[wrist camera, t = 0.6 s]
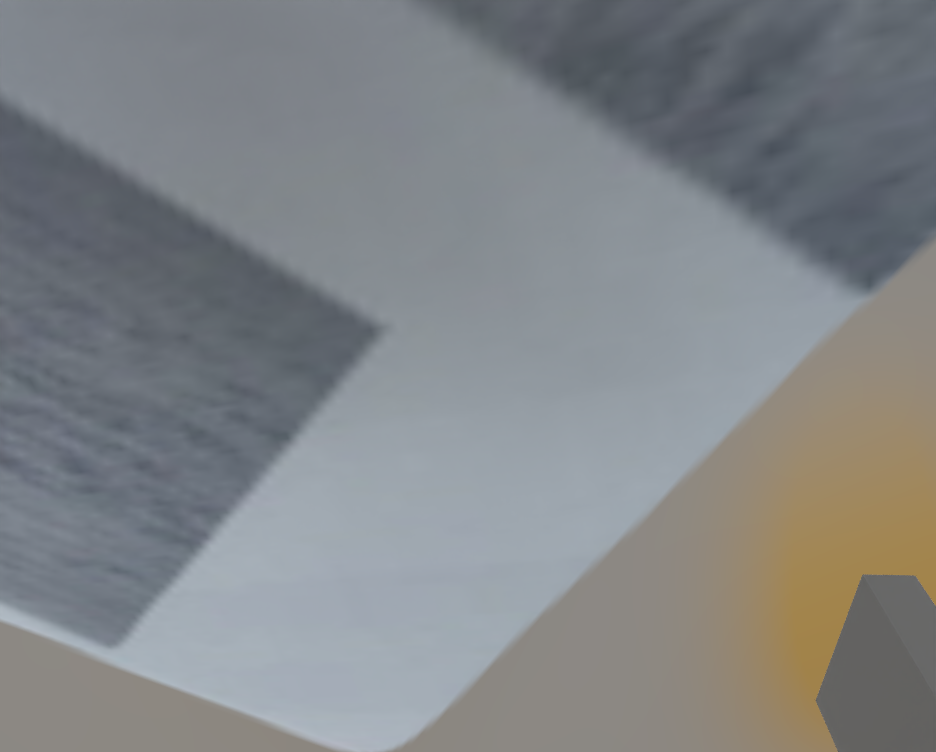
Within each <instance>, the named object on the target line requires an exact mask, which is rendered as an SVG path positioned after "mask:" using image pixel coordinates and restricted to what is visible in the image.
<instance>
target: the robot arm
mask: <svg viewBox="0 0 936 752" xmlns="http://www.w3.org/2000/svg"><path fill="white" fill-rule="evenodd" d="M816 702H817V705H818V707H819V709H820V711H821V714H822V716H823V718H824V720H825V723H826V725H827V727H828V730H829V732H830V734H831V736H832V738H833V741H834V743H835V745H836V748H837V750H838V752H936V606H935V605H934V603H933V602H932V600H931V599H930V597H929V596H928V594H927V593H926V591H925V590H924V588H923V587H922V585H921V584H920V582H919V581H918V579H917V578H916V576H905V575H862V577H861V580H860V583H859V585H858V588H857V591H856V594H855V596H854V599H853V602H852V604H851V607H850V610H849V612H848V615H847V618H846V621H845V623H844V626H843V629H842V631H841V634H840V637H839V639H838V642H837V645H836V647H835V650H834V653H833V655H832V658H831V661H830V663H829V666H828V669H827V672H826V674H825V677H824V680H823V682H822V685H821V688H820V691H819V693H818V696H817V698H816Z"/></svg>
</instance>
